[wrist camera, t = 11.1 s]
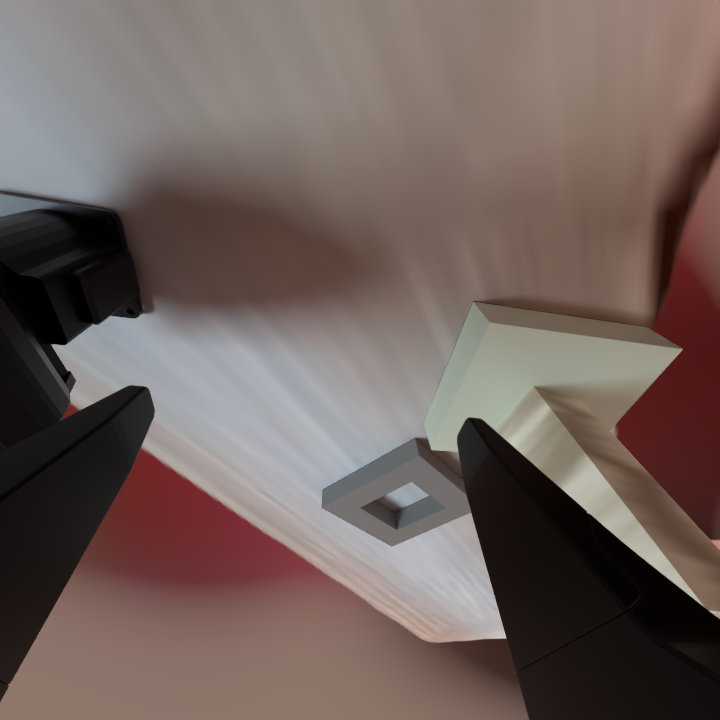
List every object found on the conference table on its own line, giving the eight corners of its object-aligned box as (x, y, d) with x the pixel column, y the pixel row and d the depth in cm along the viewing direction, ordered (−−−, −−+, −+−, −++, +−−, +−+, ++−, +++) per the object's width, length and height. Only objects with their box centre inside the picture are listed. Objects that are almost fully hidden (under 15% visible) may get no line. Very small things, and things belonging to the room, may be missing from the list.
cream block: (496, 427, 25) (613, 645, 14) (533, 385, 22) (706, 610, 12) (542, 439, 26) (683, 649, 15) (581, 400, 23) (781, 617, 13)
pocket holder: (322, 489, 34) (321, 507, 32) (414, 438, 29) (419, 455, 28) (389, 529, 39) (391, 546, 38) (475, 490, 35) (481, 507, 33)
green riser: (423, 423, 28) (431, 449, 26) (473, 301, 22) (490, 322, 19) (562, 435, 30) (581, 461, 28) (647, 327, 23) (683, 349, 21)
